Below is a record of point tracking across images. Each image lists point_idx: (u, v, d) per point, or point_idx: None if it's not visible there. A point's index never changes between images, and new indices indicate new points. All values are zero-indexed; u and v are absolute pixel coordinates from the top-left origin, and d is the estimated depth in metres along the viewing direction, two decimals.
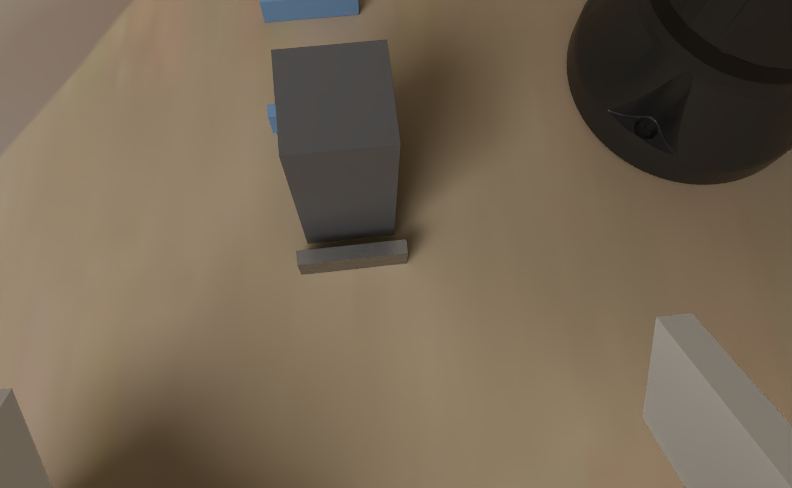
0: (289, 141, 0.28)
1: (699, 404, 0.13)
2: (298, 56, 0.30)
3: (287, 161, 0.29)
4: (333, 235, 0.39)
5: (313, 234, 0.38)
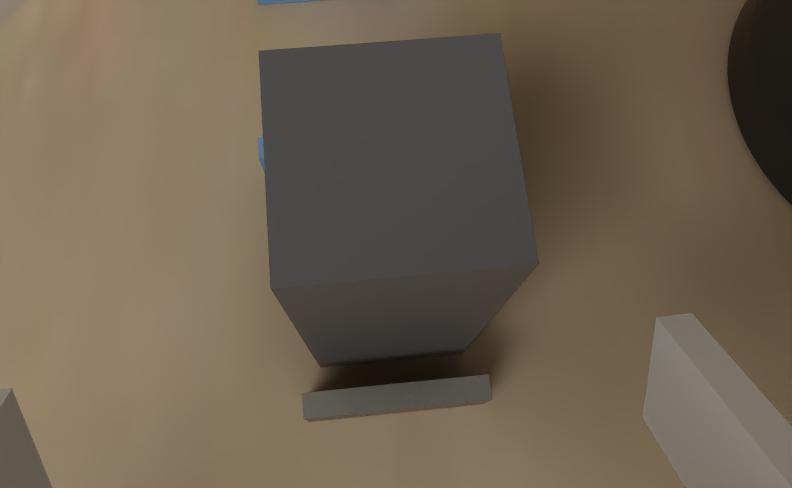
0: (295, 253, 0.13)
1: (699, 404, 0.13)
2: (315, 66, 0.14)
3: (289, 295, 0.13)
4: (364, 359, 0.23)
5: (331, 360, 0.23)
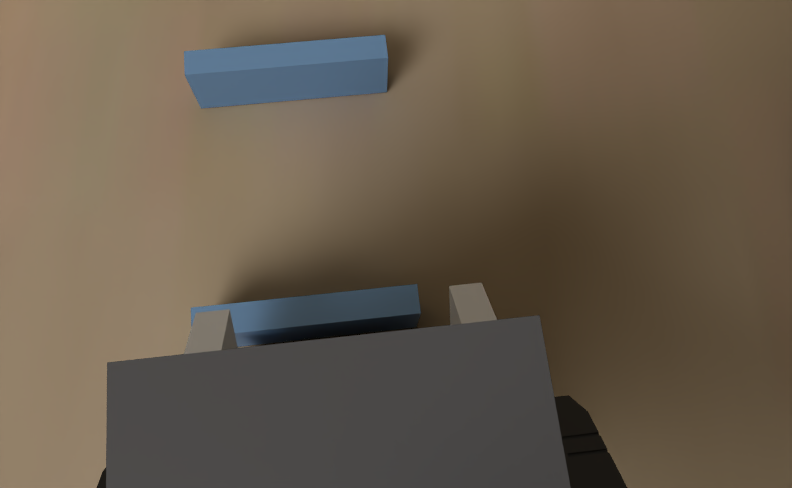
0: None
1: None
2: (209, 392, 0.08)
3: None
4: None
5: None
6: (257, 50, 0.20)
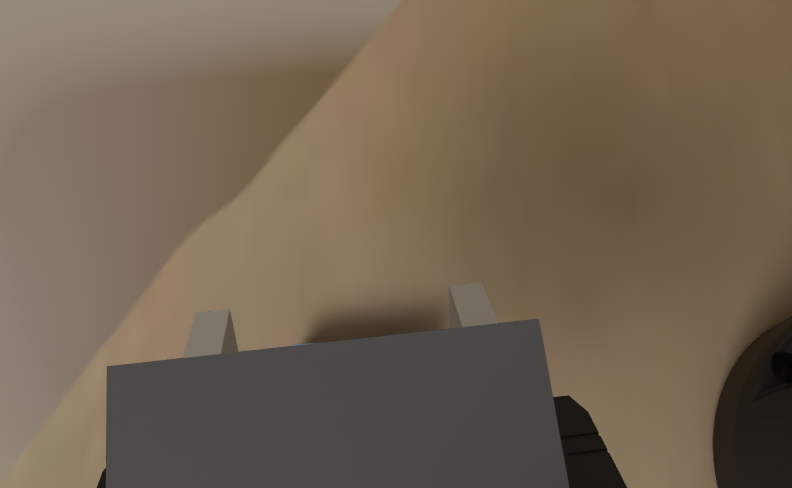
0: None
1: None
2: (208, 396, 0.08)
3: None
4: None
5: None
6: None
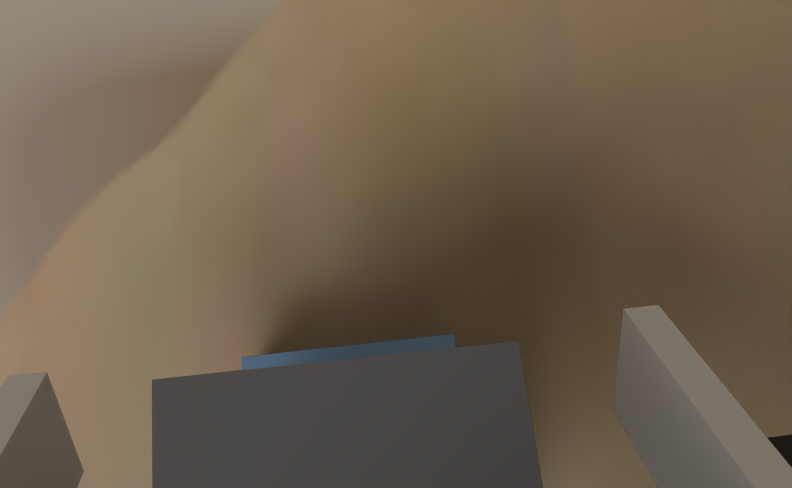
0: None
1: (662, 393, 0.13)
2: (237, 405, 0.09)
3: None
4: None
5: None
6: (319, 355, 0.19)
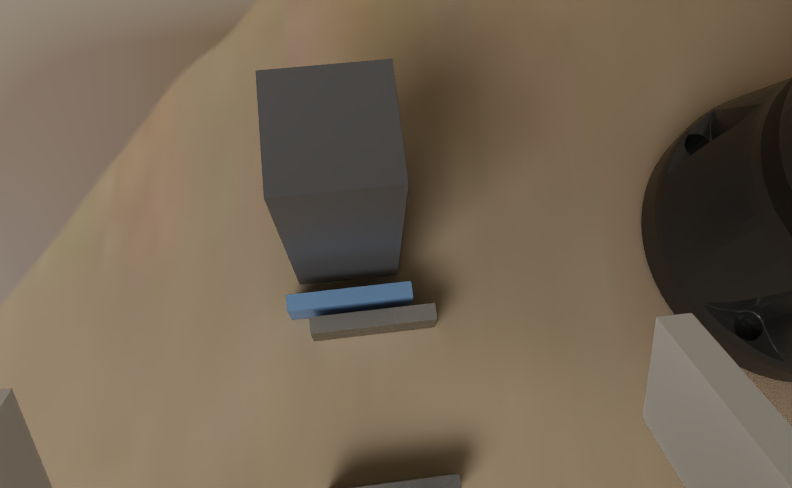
0: (277, 180, 0.24)
1: (699, 404, 0.13)
2: (287, 79, 0.25)
3: (274, 204, 0.24)
4: (328, 276, 0.34)
5: (306, 275, 0.34)
6: None
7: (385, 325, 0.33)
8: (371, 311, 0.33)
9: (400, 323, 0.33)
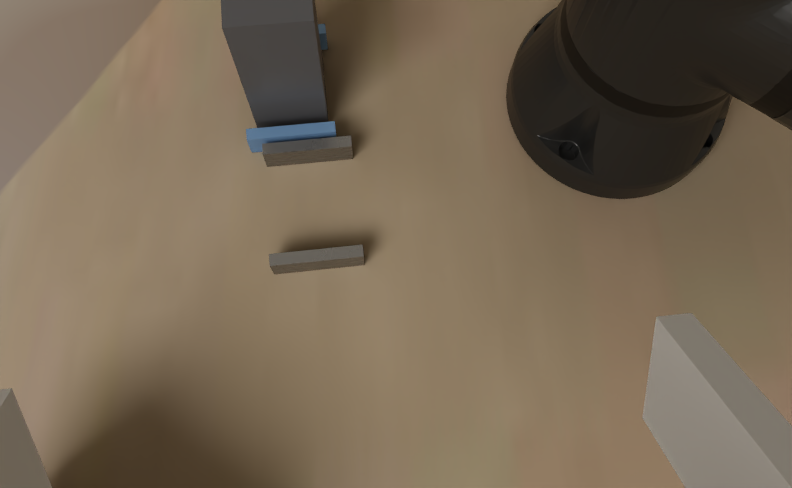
0: (230, 17, 0.38)
1: (699, 404, 0.13)
2: None
3: (229, 34, 0.38)
4: (278, 121, 0.48)
5: (261, 118, 0.47)
6: None
7: (315, 150, 0.46)
8: (306, 140, 0.47)
9: (326, 148, 0.46)
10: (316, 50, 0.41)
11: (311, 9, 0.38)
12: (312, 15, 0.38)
